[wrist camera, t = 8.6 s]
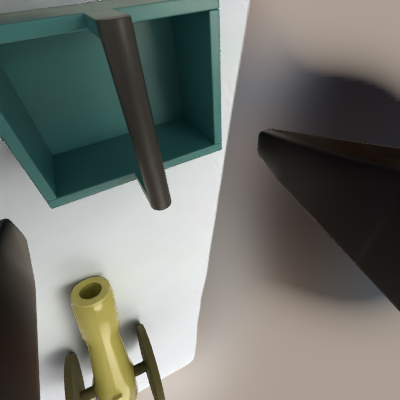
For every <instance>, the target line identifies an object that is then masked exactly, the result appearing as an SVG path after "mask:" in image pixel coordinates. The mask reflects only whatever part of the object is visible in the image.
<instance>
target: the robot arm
mask: <svg viewBox="0 0 400 400" xmlns="http://www.w3.org/2000/svg"><path fill="white" fill-rule="evenodd" d="M257 151H258V155H259V156H260V158H261V159H262V160H263V162H264V163H265V164H266V166H267V167H268V168H269V170H270V171H271V172H272V174H273V175H274V176H275V178H276V179H277V180H278V181H279V183H280V184H281V185H282V186H283V187H284V188H285V189H286V190H287V191H288V192H289V193H290V194H291V196H292V197H293V198H294V199H295V200H296V201H297V202H298V203H299V204H300V205H301V206H302V207H303V208H304V209H305V210H306V212H307V213H308V214H309V215H310V216H311V217H312V218H313V219H314V220H315V221H316V222H317V223H318V224H319V226H320V227H321V228H322V229H323V230H324V231H325V232H326V233H327V234H328V235H329V236H330V237H331V238H332V239H333V241H334V242H335V243H336V244H337V245H338V246H339V247H340V248H341V249H342V250H343V251H344V252H345V253H346V254H347V256H349V258H350V259H351V260H352V261H353V262H355V264H356V265H357V266H358V267H359V268H360V270H361V271H362V272H363V273H364V274H365V275H366V276H367V277H368V278H369V279H370V280H371V281H372V283H373V284H374V285H375V286H376V287H377V288H378V289H379V290H380V291H381V292H382V293H383V294H384V295H385V296H386V298H388V300H389V301H390V302H391V303H392V304H393V305H394V306H395V307H396V308H397V309H398V310H399V311H400V148H394V147H386V146H380V145H373V144H366V143H364V144H363V143H360V142H353V141H346V140H339V139H333V138H326V137H321V136H313V135H308V134H301V133H295V132H288V131H282V130H275V129H267V130H264V131H261V132H260V134H259V138H258V148H257ZM0 400H40V383H39V360H38V336H37V313H36V290H35V281H34V275H33V270H32V264H31V259H30V254H29V249H28V244H27V240H26V238H25V236H24V235H23V234H22V233H21V232H20V230H19V229H18V228H17V227H16V226H15V225H14V224H13V223H12V222H11V221H10V220H9V219H2V220H0Z"/></svg>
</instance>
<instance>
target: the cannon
mask: <svg viewBox="0 0 400 400" xmlns="http://www.w3.org/2000/svg"><path fill="white" fill-rule="evenodd" d="M70 298H71V307H72V310H73V313H74V316H75V319H76V322H77V325H78V328H79V330H80V333H81V336H82V339H83V341H84V342H85V343H86V344H87V349H88V353H89V358H90V363H91V368H92V373H93V380H92V385H93V386H91V387H89V388H87V389H85V386H84V381H83V376H82V372H81V368H80V364H79V361H78V358H77V356H76V354H75V353H72V354H70V355H68V356H66V358H65V364H64V385H65V398H66V400H91V399H93V398H95V397H97V400H136V398H137V393H138V387H137V381H136V376H138V375H140V374H142V373H144V372H146V373H147V377H148V380H149V384H150V387H151V390H152V393H153V396H154V399H155V400H165V397H164V392H163V387H162V383H161V379H160V375H159V371H158V367H157V364H156V360H155V357H154V353H153V350H152V347H151V344H150V341H149V338H148V335H147V333H146V330H145V328H144V326H143V325H142V324H141V325H139V326H137V327H136V330H137V336H138V341H139V346H140V350H141V354H142V358H143V361H142V362H140V363H138V364H136V365H134V366H133V363H132V361H131V359H130V358H129V357H128V355H127V352H126V349H125V346H124V343H123V340H122V337H121V334H120V331H119V319H118V314H117V309H116V304H115V300H114V295H113V290H112V287H111V286H110V284H109V282H108V281H107V280H106V279H105V278H103V277H90V278H87V279H85V280H83V281H81V282H79V283H78V284H77V285H76V286H75V287H74V288H73V290H72V292H71V296H70Z"/></svg>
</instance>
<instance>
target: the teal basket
mask: <svg viewBox="0 0 400 400" xmlns="http://www.w3.org/2000/svg"><path fill="white" fill-rule="evenodd" d="M218 8H219V0H105V1H97V2H90V3H82V4H74V5H67V6H59V7H51V8H44V9H36V10H28V11H21V12H13V13H5V14H0V136H1V137H2V139H3V140H4V142H5V143H6V145H7V146H8V147H9V149H10V150H11V152H12V153H13V155H14V156H15V157H16V159H17V160H18V162H19V163H20V165H21V166H22V167H23V169H24V170H25V172H26V173H27V174H28V176H29V177H30V179H31V180H32V182H33V183H34V184H35V186H36V187H37V189H38V190H39V192H40V193H41V194H42V196H43V197H44V199H45V200H46V201H47V203H48V204H49V206H50V207H51V208H52V209H53V208H56V207H58V206H61V205H64V204H67V203H70V202H73V201H76V200H78V199H81V198H84V197H87V196H90V195H93V194H96V193H98V192H101V191H104V190H107V189H110V188H113V187H116V186H119V185H121V184H124V183H127V182H130V181H133V180H136V179H137V180H138V182H139V184H140V186H141V188H142V190H143V192H144V194H145V196H146V197H147V199H148V201H149V203H150V205H151V207H152V208H153V209H155V210H164V209H166V208H168V207H169V206H170V204H171V198H170V193H169V189H168V184H167V179H166V175H165V170H164V169H167V168H170V167H173V166H176V165H179V164H181V163H184V162H187V161H190V160H193V159H196V158H199V157H201V156H204V155H207V154H210V153H213V152H216V151H219V150H221V149H222V143H221V142H222V137H221V81H220V25H219V9H218Z"/></svg>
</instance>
